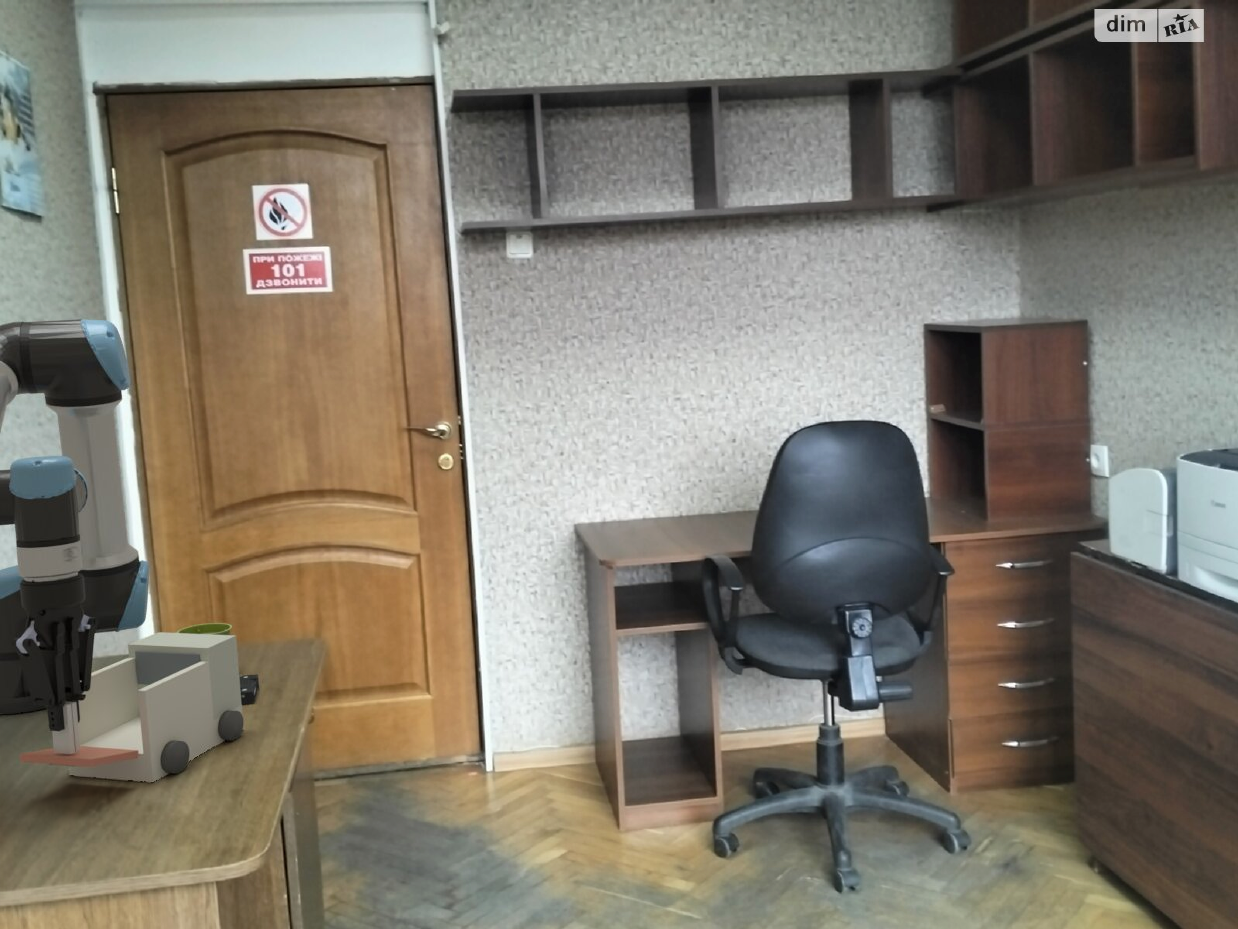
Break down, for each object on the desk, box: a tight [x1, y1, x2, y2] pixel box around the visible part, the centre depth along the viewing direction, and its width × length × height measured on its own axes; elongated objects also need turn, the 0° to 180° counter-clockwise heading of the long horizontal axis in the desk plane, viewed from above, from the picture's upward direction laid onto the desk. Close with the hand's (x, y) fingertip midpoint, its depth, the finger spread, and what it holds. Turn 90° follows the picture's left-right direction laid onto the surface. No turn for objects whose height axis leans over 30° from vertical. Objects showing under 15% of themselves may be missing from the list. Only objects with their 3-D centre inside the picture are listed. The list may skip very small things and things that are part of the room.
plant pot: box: [176, 622, 233, 635], centre depth 207 cm, size 9×9×9 cm
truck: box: [67, 631, 244, 783], centre depth 168 cm, size 17×21×15 cm
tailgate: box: [19, 746, 138, 767], centre depth 153 cm, size 11×1×9 cm
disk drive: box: [239, 674, 260, 706], centre depth 193 cm, size 10×3×15 cm
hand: (67, 751), depth 151 cm, fingers closed
